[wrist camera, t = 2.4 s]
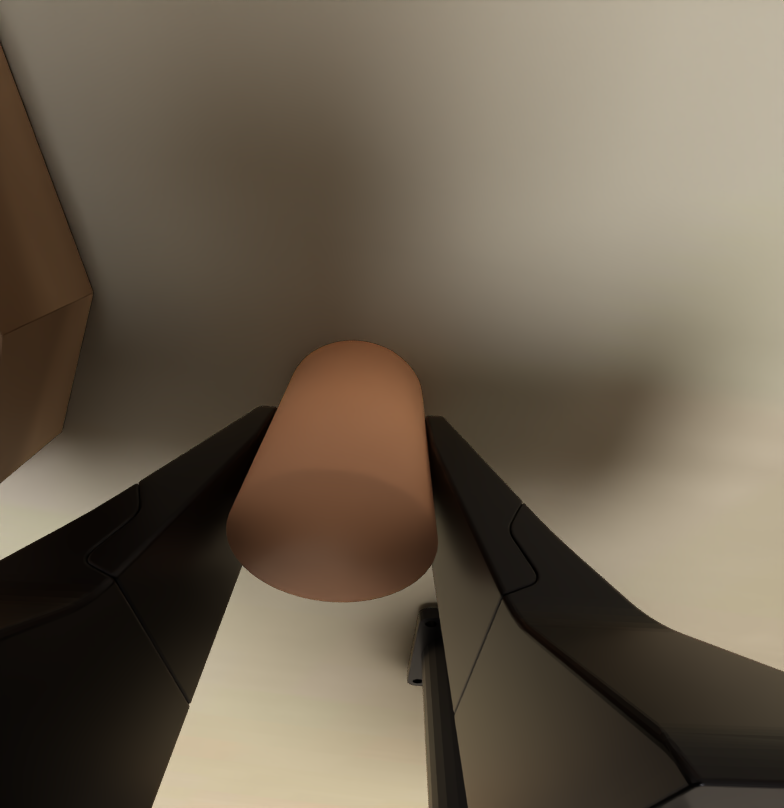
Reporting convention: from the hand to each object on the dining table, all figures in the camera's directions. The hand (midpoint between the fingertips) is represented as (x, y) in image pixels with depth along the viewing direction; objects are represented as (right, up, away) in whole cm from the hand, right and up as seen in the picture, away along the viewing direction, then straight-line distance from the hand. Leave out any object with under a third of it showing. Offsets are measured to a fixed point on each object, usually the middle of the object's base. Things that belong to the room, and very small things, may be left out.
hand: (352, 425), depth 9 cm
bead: (0, +1, +1) cm, 1 cm away
